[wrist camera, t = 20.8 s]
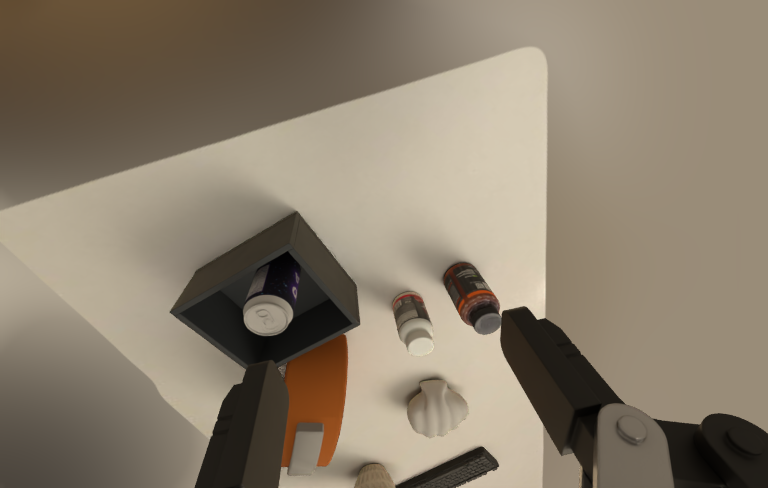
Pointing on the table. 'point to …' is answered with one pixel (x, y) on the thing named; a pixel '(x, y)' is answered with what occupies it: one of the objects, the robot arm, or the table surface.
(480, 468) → the keyboard
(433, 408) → the shell shaped sculpture
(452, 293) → the supplement bottle
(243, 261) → the open storage box
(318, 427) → the alarm clock
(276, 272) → the beverage can
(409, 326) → the pill bottle
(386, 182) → the table surface
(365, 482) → the vase
